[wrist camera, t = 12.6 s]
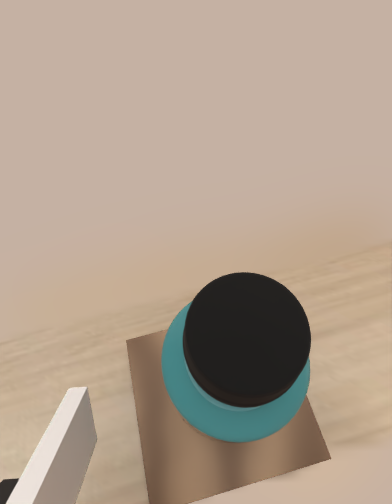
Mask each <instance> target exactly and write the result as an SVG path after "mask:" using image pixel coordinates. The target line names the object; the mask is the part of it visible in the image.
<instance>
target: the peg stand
mask: <svg viewBox="0 0 392 504" xmlns="http://www.w3.org/2000/svg"><path fill="white" fill-rule="evenodd" d="M167 331H168V330H164V331H160V332H156V333H152V334H149V335H145V336H141V337H137V338H133V339H129V340H126V343H127V350H128V357H129V364H130V371H131V378H132V385H133V392H134V399H135V406H136V413H137V420H138V427H139V433H140V440H141V447H142V454H143V461H144V468H145V475H146V482H147V489H148V496H149V503H150V504H188V503H191V502H194V501H198V500H201V499H204V498H207V497H210V496H214V495H217V494H220V493H223V492H226V491H230V490H233V489H236V488H239V487H242V486H246V485H249V484H252V483H255V482H258V481H262V480H265V479H268V478H271V477H274V476H278V475H281V474H284V473H287V472H291V471H294V470H297V469H300V468H303V467H307V466H310V465H313V464H316V463H319V462H323V461H326V460H329V459H331V457H330V454H329V451H328V449H327V446H326V444H325V441H324V439H323V436H322V434H321V431H320V429H319V426H318V423H317V421H316V418H315V416H314V413H313V411H312V408H311V406H310V403H309V401H308V398H307V396H305V399H304V401H303V403H302V405H301V407H300V409H299V410H298V412H297V413H296V415H295V416H294V417H293V418H292V419H291V420H290V422H289V423H288V424H287V425H285V426H284V427H283V428H282V429H280V430H279V431H277V432H276V433H274V434H272V435H270V436H268V437H266V438H263V439H260V440H256V441H251V442H241V443H237V442H228V443H227V441H225V442H226V443H224V441H223V440H219V439H216V438H213V437H211V436H208V435H206V434H205V433H203V432H201V431H199V430H198V429H196V428H195V427H194V426H191V425H190V423H189V422H188V421H187V420H186V419H185V418H184V417H183V416H182V415H181V414H180V413H179V411H178V410H177V409H176V407H175V406H174V405H173V402H172V401H171V399H170V397H169V395H168V392H167V390H166V387H165V384H164V380H163V375H162V366H161V356H162V348H163V343H164V339H165V336H166V333H167ZM179 415H180V416H179ZM183 419H184V421H183ZM185 422H186V423H187V424H186V423H185ZM191 427H193V428H191ZM193 429H194V430H193ZM195 429H196V430H197V431H196V430H195ZM197 432H198V433H197ZM200 433H201V434H200ZM209 437H210V438H209ZM211 439H212V440H211ZM214 439H215V440H214ZM217 440H218V441H217ZM220 442H221V443H220Z"/></svg>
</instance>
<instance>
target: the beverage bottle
mask: <svg viewBox="0 0 392 504" xmlns="http://www.w3.org/2000/svg"><path fill="white" fill-rule="evenodd" d="M310 347H311V333H310V327H309V322H308V319H307V316H306V314H305V312H304V309H303V308H302V306H301V304H300V303H299V301H298V300H297V298H296V297H295V296H294V295H293V294H292V293H291V292H290V291H289V290H288V289H287V288H286V287H285V286H283V285H282V284H280V283H279V282H277V281H275V280H273V279H271V278H269V277H266V276H264V275H260V274H256V273H246V272H245V273H244V272H242V273H232V274H228V275H225V276H222V277H219V278H217V279H215V280H213V281H212V282H210V283H209V284H207V285H206V286H205V287H204V288H203V289H202V290H201V291H200V292H199V293H198V294H197V295H196V297H195V298H194V299H193V301H192V302H190V303H189V304H188V305H187V306H185V307H184V308H183V309H182V310H181V311H180V312H179V313H178V315H177V316H176V317H175V319H174V320H173V322H172V323H171V325H170V327H169V329H168V331H167V333H166V336H165V339H164V343H163V348H162V356H161V366H162V375H163V380H164V384H165V387H166V390H167V392H168V395H169V397H170V399H171V401H172V402H173V405H174V406H175V407H176V409H177V410H178V411H179V413H180V414H181V415H182V416H183V417H184V418H185V419H186V420H187V421H188V422H189V423H190V425H191V426H194V427H195V428H196V429H198V430H199V431H201V432H203V433H205V434H206V435H208V436H211V437H213V438H216V439H219V440H223V441H224V443H226V442H225V441H227V443H228V442H237V443H241V442H251V441H256V440H260V439H263V438H266V437H268V436H270V435H272V434H274V433H276V432H277V431H279V430H280V429H282V428H283V427H284V426H285V425H287V424H288V423H289V422H290V420H291V419H292V418H293V417H294V416H295V415H296V413H297V412H298V410H299V409H300V407H301V405H302V403H303V401H304V399H305V396H306V393H307V390H308V386H309V381H310V360H309V353H310ZM179 416H180V415H179ZM183 421H184V419H183ZM185 423H186V422H185ZM186 424H187V423H186ZM191 428H193V427H191ZM196 429H195V430H196ZM193 430H194V429H193ZM196 431H197V430H196ZM197 433H198V432H197ZM200 434H201V433H200ZM209 438H210V437H209ZM211 440H212V439H211ZM214 440H215V439H214ZM217 441H218V440H217ZM220 443H221V442H220Z"/></svg>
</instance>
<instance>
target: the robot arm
mask: <svg viewBox="0 0 392 504" xmlns="http://www.w3.org/2000/svg"><path fill="white" fill-rule="evenodd" d="M96 442H97V436H96V431H95V426H94V420H93V415H92V410H91V404H90V399H89V394H88V388H87V387H76V388H69V389H68V391H67V393H66V395H65V396H64V398H63V400H62V402H61V404H60V406H59V407H58V409H57V411H56V413H55V415H54V417H53V418H52V420H51V422H50V424H49V426H48V428H47V429H46V431H45V433H44V435H43V437H42V438H41V440H40V442H39V444H38V446H37V448H36V449H35V451H34V453H33V455H32V457H31V459H30V460H29V462H28V464H27V466H26V468H25V470H24V471H23V473H22V475H21V477H20V478H19V479H5V480H3V481H2V482H1V483H0V504H75V503H76V500H77V497H78V494H79V491H80V488H81V485H82V483H83V480H84V477H85V474H86V471H87V468H88V465H89V462H90V459H91V456H92V453H93V450H94V447H95V444H96Z"/></svg>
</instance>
